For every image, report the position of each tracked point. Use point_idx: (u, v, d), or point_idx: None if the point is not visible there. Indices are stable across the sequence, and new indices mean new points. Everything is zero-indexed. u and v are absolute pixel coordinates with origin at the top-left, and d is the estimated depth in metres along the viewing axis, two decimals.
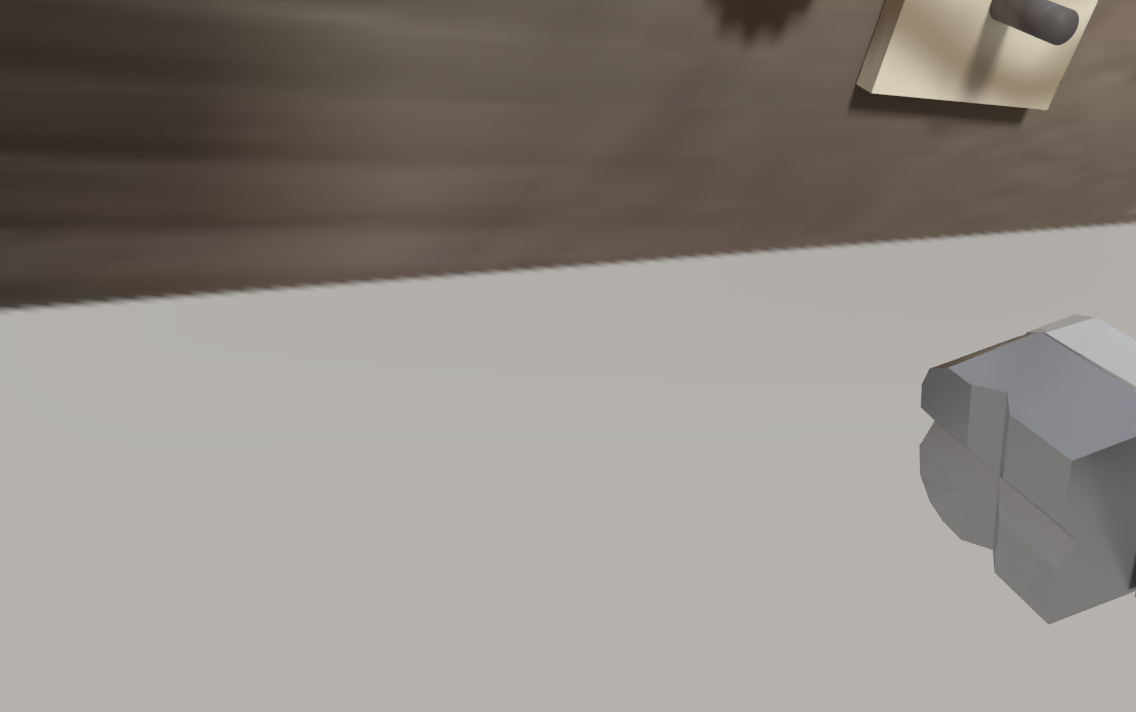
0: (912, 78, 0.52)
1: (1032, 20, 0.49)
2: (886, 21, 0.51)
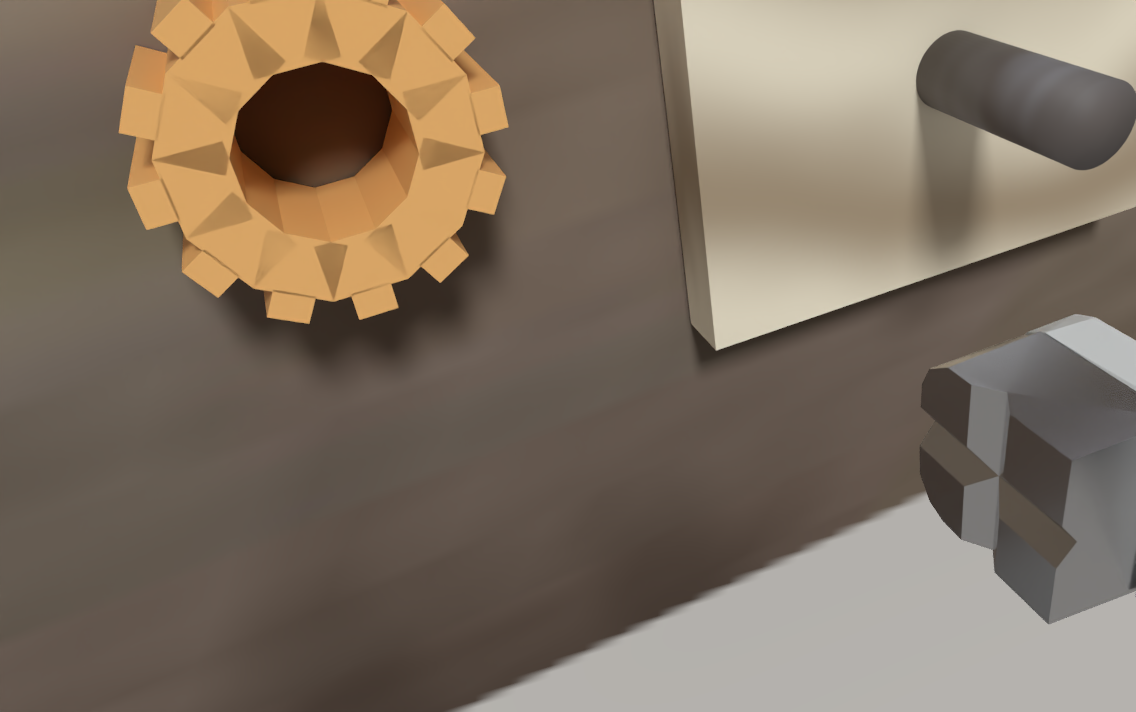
0: (798, 288, 0.24)
1: (1014, 123, 0.19)
2: (687, 208, 0.23)
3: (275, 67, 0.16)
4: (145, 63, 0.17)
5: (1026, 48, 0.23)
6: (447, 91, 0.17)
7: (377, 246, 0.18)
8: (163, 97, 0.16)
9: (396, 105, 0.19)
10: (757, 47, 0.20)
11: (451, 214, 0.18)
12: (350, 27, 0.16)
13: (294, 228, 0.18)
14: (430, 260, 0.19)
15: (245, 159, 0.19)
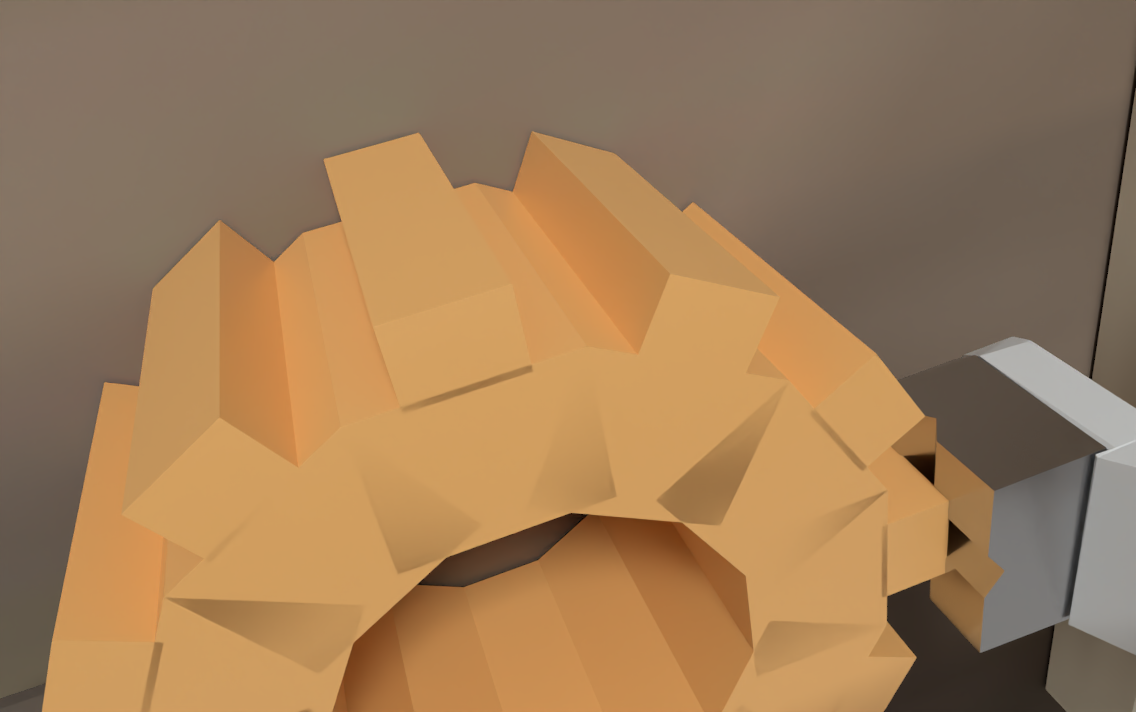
0: None
1: None
2: None
3: (453, 539, 0.06)
4: (120, 464, 0.07)
5: None
6: (839, 528, 0.07)
7: None
8: (158, 646, 0.06)
9: None
10: None
11: None
12: (649, 432, 0.06)
13: None
14: None
15: None
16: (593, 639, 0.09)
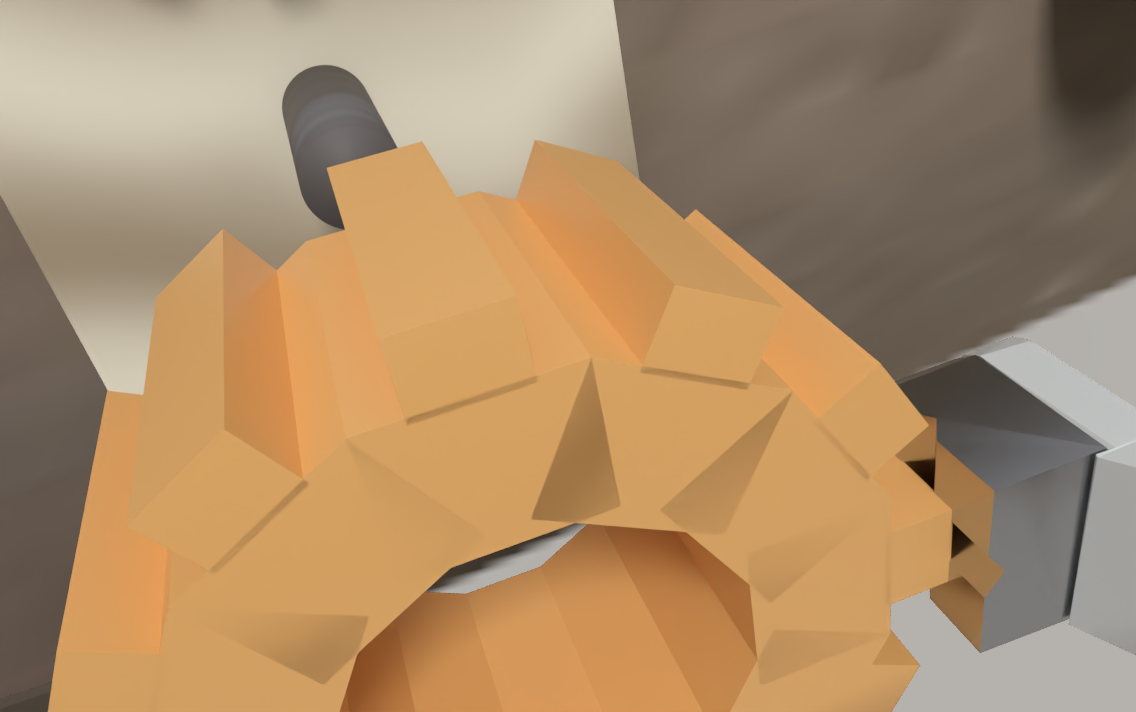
0: None
1: None
2: None
3: (457, 550, 0.06)
4: (124, 473, 0.07)
5: (425, 83, 0.20)
6: (843, 537, 0.07)
7: None
8: (163, 657, 0.06)
9: None
10: (45, 88, 0.18)
11: None
12: (653, 442, 0.06)
13: None
14: None
15: None
16: (596, 646, 0.09)
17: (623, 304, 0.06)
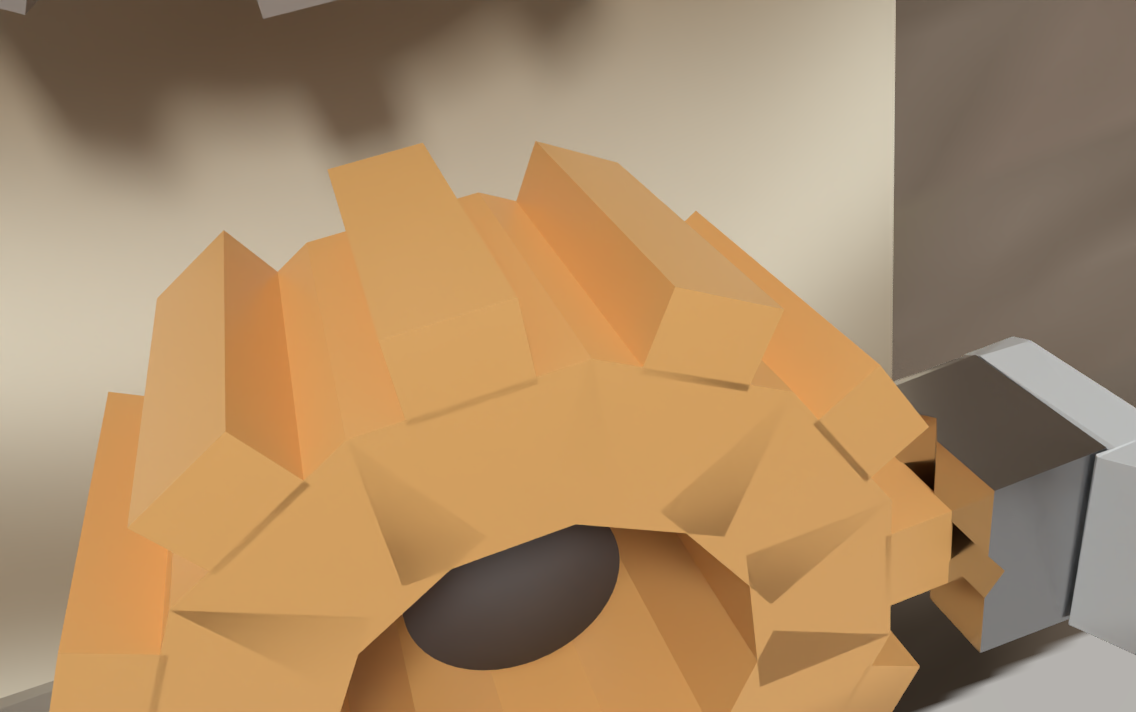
0: None
1: None
2: None
3: (458, 551, 0.06)
4: (125, 475, 0.07)
5: None
6: (843, 538, 0.07)
7: None
8: (164, 658, 0.06)
9: None
10: None
11: None
12: (653, 444, 0.06)
13: None
14: None
15: None
16: (596, 647, 0.09)
17: (624, 306, 0.06)
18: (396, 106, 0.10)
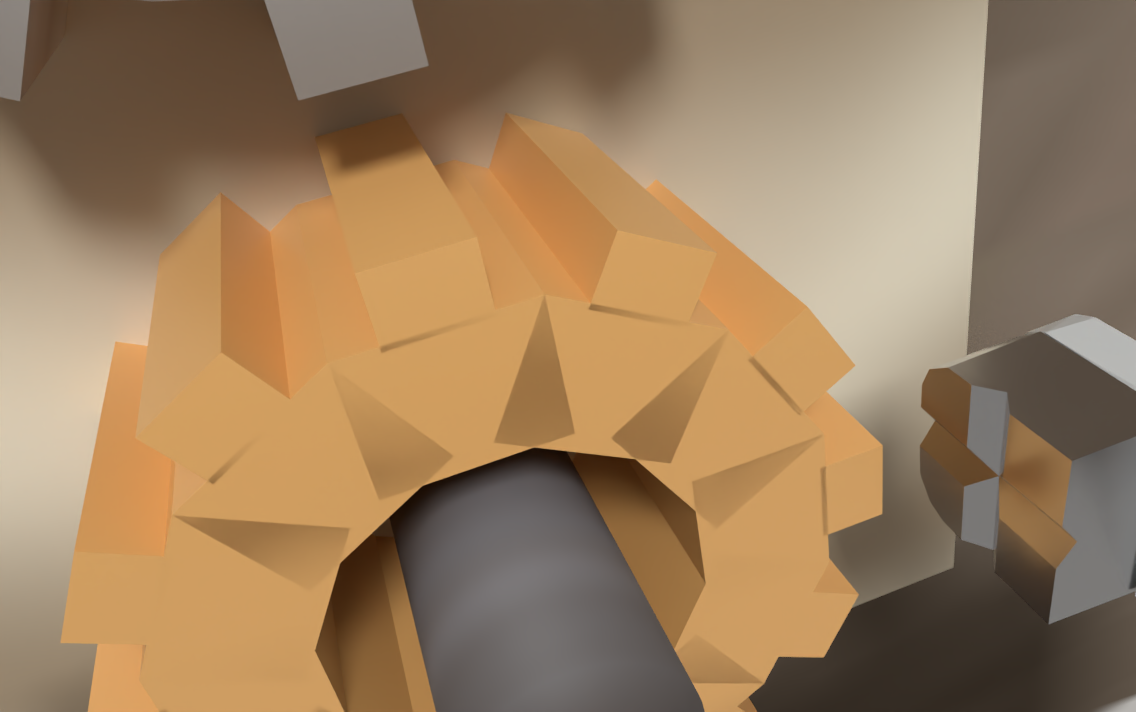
0: None
1: None
2: None
3: (428, 469, 0.07)
4: (131, 410, 0.08)
5: None
6: (781, 469, 0.08)
7: None
8: (167, 560, 0.07)
9: None
10: None
11: (747, 669, 0.09)
12: (602, 374, 0.07)
13: None
14: None
15: None
16: None
17: (576, 252, 0.07)
18: None
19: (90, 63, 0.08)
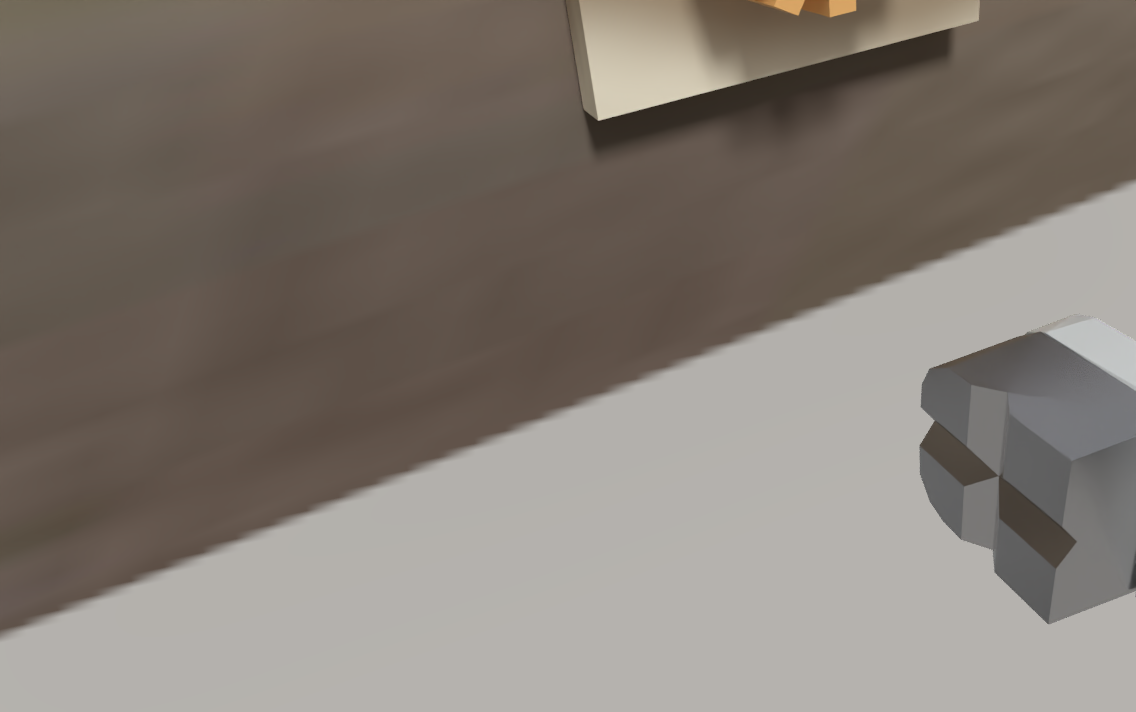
0: (667, 68, 0.28)
1: None
2: None
3: None
4: None
5: None
6: None
7: None
8: None
9: None
10: None
11: None
12: None
13: None
14: None
15: None
16: None
17: None
18: None
19: None
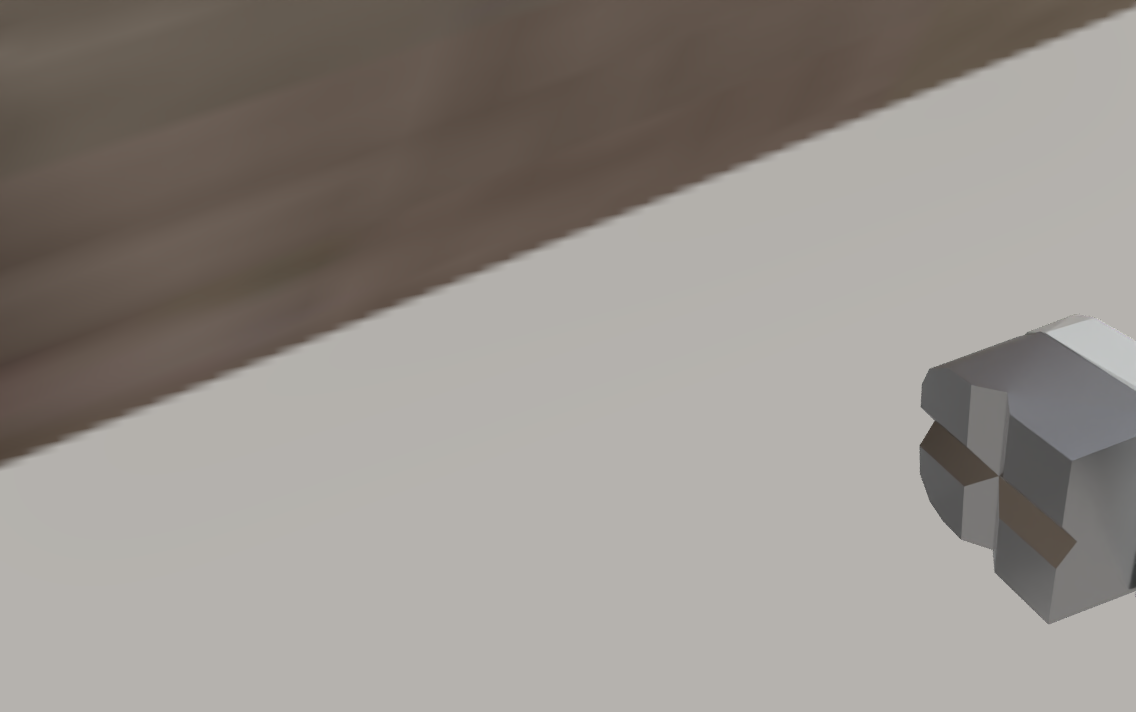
0: None
1: None
2: None
3: None
4: None
5: None
6: None
7: None
8: None
9: None
10: None
11: None
12: None
13: None
14: None
15: None
16: None
17: None
18: None
19: None
